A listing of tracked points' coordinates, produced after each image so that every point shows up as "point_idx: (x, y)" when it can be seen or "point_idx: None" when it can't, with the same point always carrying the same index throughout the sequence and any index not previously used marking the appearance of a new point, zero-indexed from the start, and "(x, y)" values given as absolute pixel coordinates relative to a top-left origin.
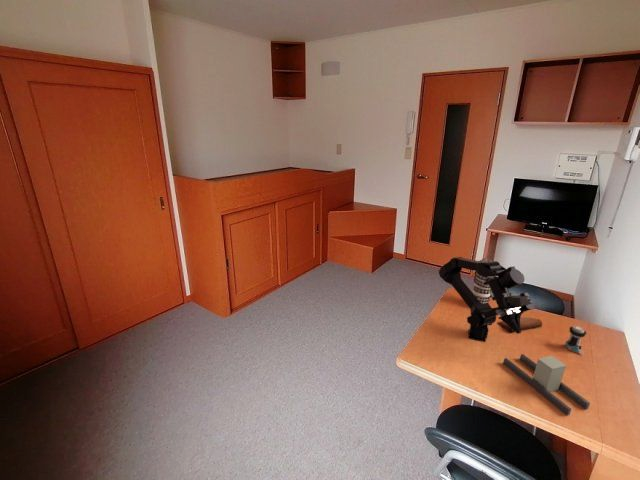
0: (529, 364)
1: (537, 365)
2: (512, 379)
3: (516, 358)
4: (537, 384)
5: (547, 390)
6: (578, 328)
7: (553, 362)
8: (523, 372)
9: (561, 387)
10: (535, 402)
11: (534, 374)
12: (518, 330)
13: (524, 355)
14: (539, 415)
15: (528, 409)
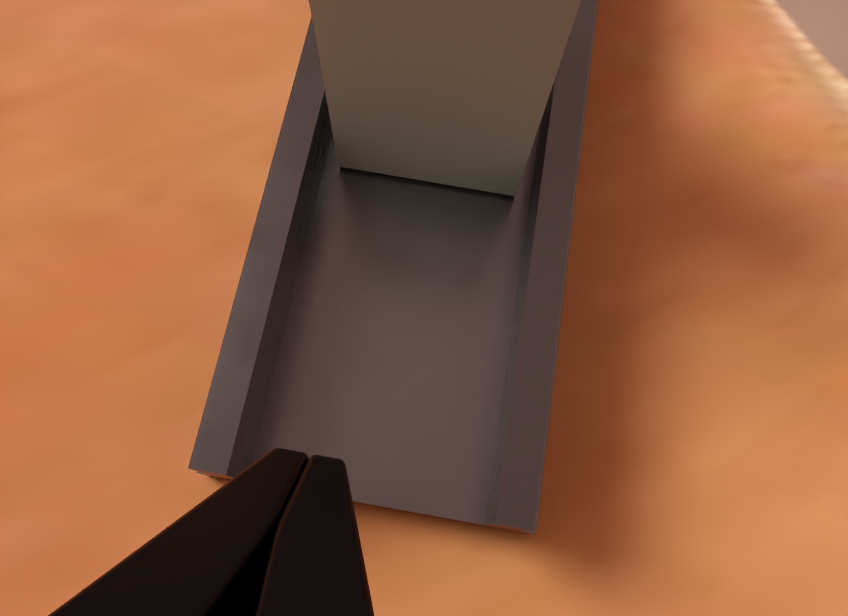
0: (271, 342)
1: (566, 33)
2: (599, 341)
3: None
4: (584, 87)
5: None
6: None
7: None
8: (549, 251)
9: None
10: (661, 90)
11: (536, 128)
12: (334, 497)
13: (204, 438)
14: (755, 14)
15: (787, 77)
